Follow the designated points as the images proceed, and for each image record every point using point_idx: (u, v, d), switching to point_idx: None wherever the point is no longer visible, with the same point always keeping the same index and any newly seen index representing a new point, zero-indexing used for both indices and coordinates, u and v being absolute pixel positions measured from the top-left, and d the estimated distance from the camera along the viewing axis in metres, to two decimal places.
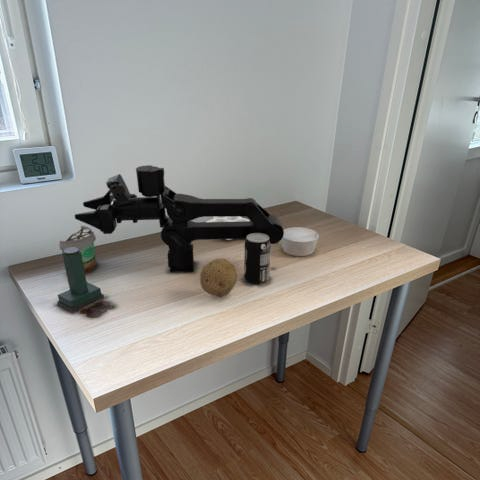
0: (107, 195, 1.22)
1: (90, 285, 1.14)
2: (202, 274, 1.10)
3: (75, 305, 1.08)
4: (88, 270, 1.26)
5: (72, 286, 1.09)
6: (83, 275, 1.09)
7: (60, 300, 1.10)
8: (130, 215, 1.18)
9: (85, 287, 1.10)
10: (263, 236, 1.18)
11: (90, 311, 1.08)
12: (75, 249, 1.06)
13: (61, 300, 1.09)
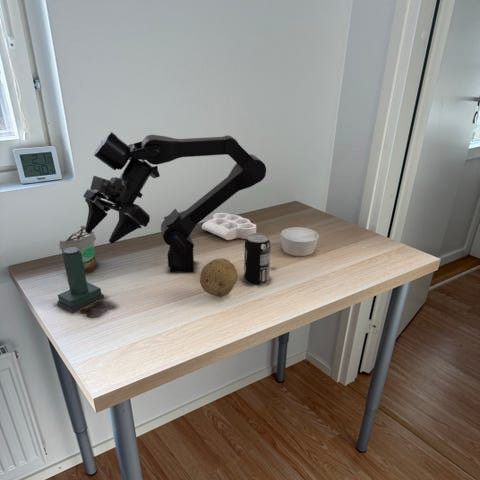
0: (93, 204, 1.13)
1: (90, 285, 1.14)
2: (202, 274, 1.10)
3: (75, 305, 1.08)
4: (88, 270, 1.26)
5: (72, 286, 1.09)
6: (83, 275, 1.09)
7: (60, 300, 1.10)
8: (135, 194, 1.11)
9: (85, 287, 1.10)
10: (263, 236, 1.18)
11: (90, 311, 1.08)
12: (75, 249, 1.06)
13: (61, 300, 1.09)
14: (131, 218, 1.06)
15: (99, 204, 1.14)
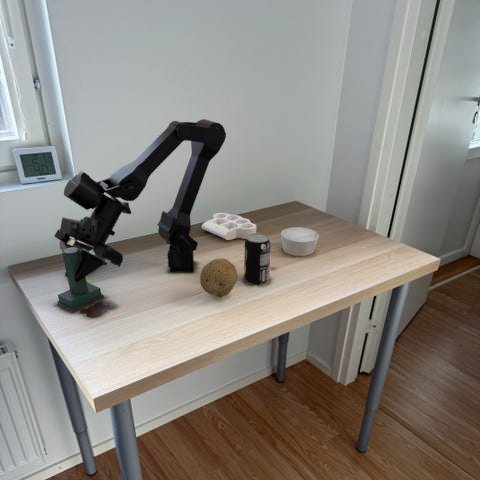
0: None
1: (90, 285, 1.14)
2: (202, 274, 1.10)
3: (75, 305, 1.08)
4: None
5: (72, 286, 1.09)
6: None
7: (60, 300, 1.10)
8: (107, 233, 1.09)
9: (85, 287, 1.10)
10: (263, 236, 1.18)
11: (90, 311, 1.08)
12: (75, 249, 1.06)
13: (61, 300, 1.09)
14: (95, 256, 1.05)
15: (79, 247, 1.10)
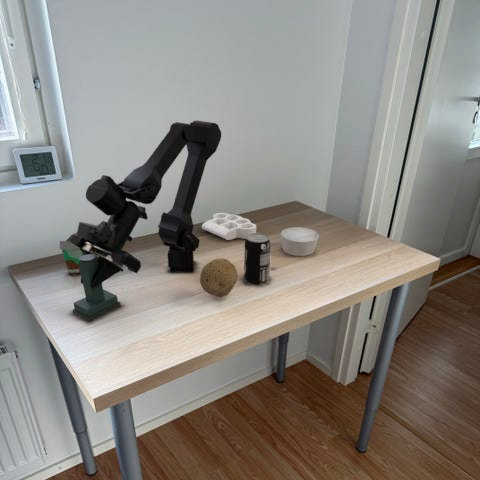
0: (88, 253, 1.04)
1: (106, 292, 1.10)
2: (202, 274, 1.10)
3: (92, 314, 1.05)
4: None
5: (88, 294, 1.06)
6: None
7: (76, 308, 1.06)
8: (124, 238, 1.05)
9: (101, 295, 1.07)
10: (263, 236, 1.18)
11: None
12: (92, 256, 1.02)
13: (77, 308, 1.06)
14: (112, 262, 1.01)
15: (95, 252, 1.06)
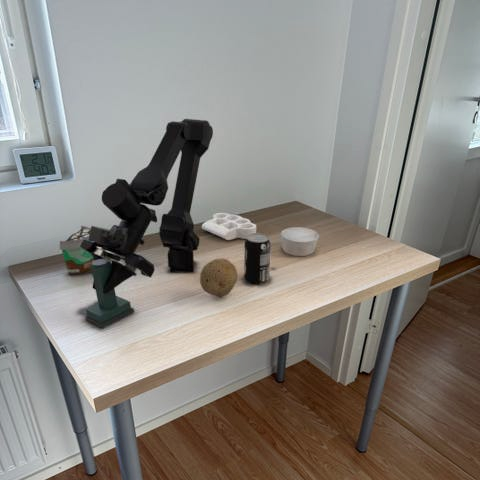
0: (100, 258, 1.02)
1: (119, 299, 1.08)
2: (202, 274, 1.10)
3: (104, 320, 1.02)
4: (88, 270, 1.26)
5: (101, 300, 1.03)
6: None
7: (88, 315, 1.04)
8: (137, 242, 1.03)
9: (114, 301, 1.04)
10: (263, 236, 1.18)
11: None
12: (104, 261, 1.00)
13: (89, 315, 1.04)
14: (125, 266, 0.99)
15: (106, 257, 1.04)
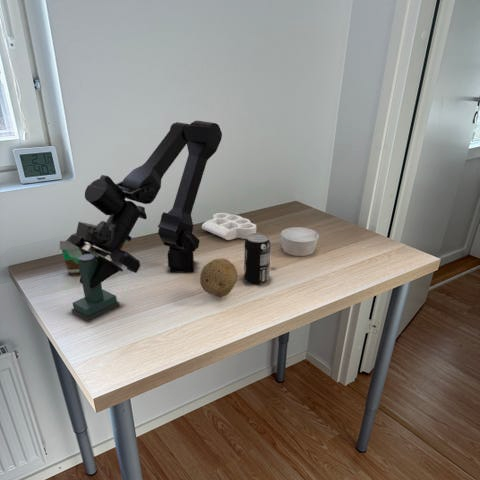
0: (87, 253, 1.05)
1: (105, 292, 1.10)
2: (202, 274, 1.10)
3: (90, 313, 1.05)
4: None
5: (87, 294, 1.06)
6: None
7: (75, 308, 1.07)
8: (124, 238, 1.05)
9: (100, 295, 1.07)
10: (263, 236, 1.18)
11: None
12: (91, 256, 1.02)
13: (76, 308, 1.06)
14: (111, 262, 1.02)
15: (94, 252, 1.06)
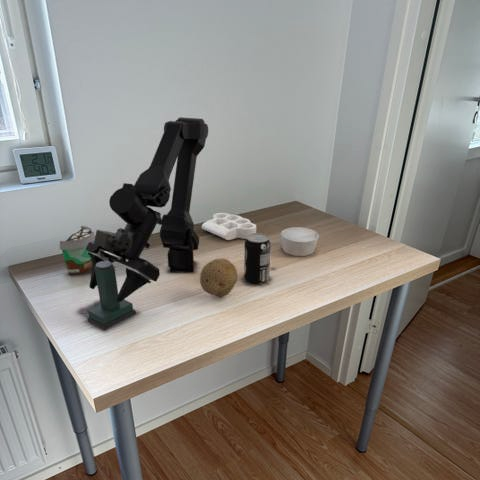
0: (97, 258, 1.03)
1: None
2: (202, 274, 1.10)
3: (107, 322, 1.02)
4: (88, 270, 1.26)
5: (103, 302, 1.03)
6: (115, 290, 1.02)
7: (90, 316, 1.04)
8: (142, 245, 1.02)
9: (117, 303, 1.04)
10: (263, 236, 1.18)
11: None
12: (108, 263, 1.00)
13: (92, 316, 1.03)
14: (140, 274, 0.97)
15: (103, 257, 1.05)
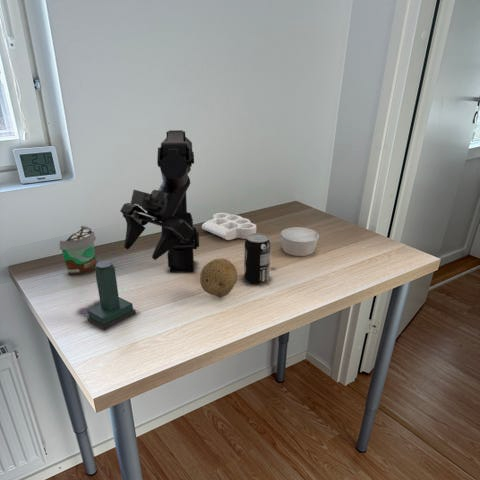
0: (132, 219, 1.08)
1: (121, 300, 1.07)
2: (202, 274, 1.10)
3: (107, 322, 1.02)
4: (88, 270, 1.26)
5: (103, 302, 1.03)
6: (115, 290, 1.02)
7: (90, 316, 1.04)
8: (176, 206, 1.07)
9: (117, 303, 1.04)
10: (263, 236, 1.18)
11: None
12: (108, 263, 1.00)
13: (92, 316, 1.03)
14: (175, 232, 1.02)
15: (137, 218, 1.09)
